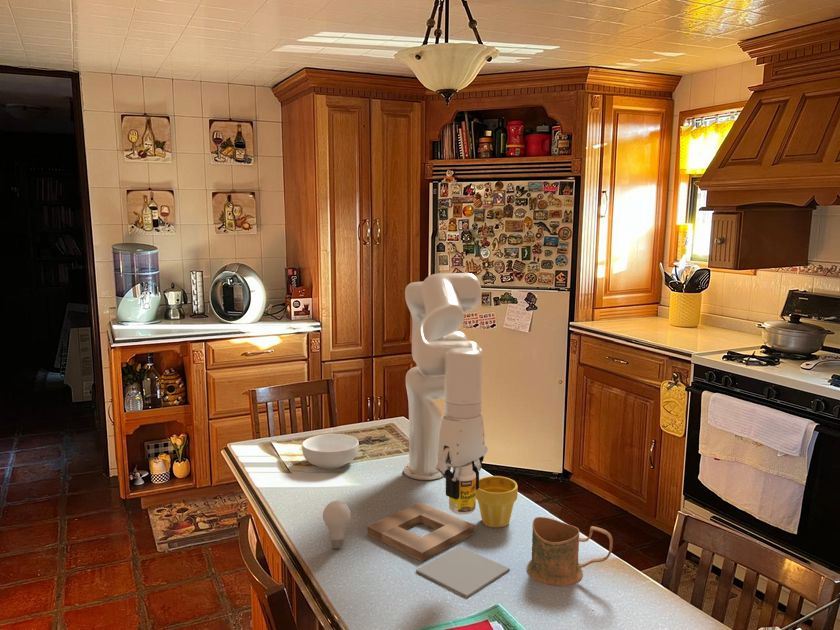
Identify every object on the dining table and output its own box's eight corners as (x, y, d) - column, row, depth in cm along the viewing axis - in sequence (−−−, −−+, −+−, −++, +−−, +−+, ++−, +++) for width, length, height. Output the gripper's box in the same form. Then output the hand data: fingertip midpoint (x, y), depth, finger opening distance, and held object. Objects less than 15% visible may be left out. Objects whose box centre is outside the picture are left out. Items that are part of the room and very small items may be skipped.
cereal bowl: (370, 461, 205) (369, 439, 204) (335, 479, 192) (334, 455, 190) (327, 450, 214) (326, 429, 213) (290, 467, 201) (290, 444, 199)
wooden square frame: (420, 509, 172) (420, 502, 172) (474, 532, 160) (474, 524, 159) (367, 534, 159) (367, 526, 159) (422, 561, 147) (422, 552, 147)
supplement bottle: (459, 518, 137) (459, 470, 136) (443, 508, 142) (443, 461, 140) (481, 511, 140) (481, 464, 139) (465, 501, 145) (465, 456, 143)
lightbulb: (356, 544, 154) (355, 499, 153) (342, 557, 149) (340, 510, 147) (333, 539, 157) (332, 494, 155) (318, 551, 151) (317, 505, 150)
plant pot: (488, 535, 159) (488, 495, 157) (466, 517, 168) (467, 479, 166) (525, 526, 163) (526, 487, 161) (502, 509, 172) (502, 472, 171)
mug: (601, 601, 132) (603, 544, 130) (518, 576, 141) (519, 522, 139) (618, 574, 141) (620, 520, 140) (539, 552, 151) (540, 501, 149)
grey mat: (459, 547, 153) (459, 545, 153) (509, 570, 143) (509, 568, 143) (416, 571, 143) (416, 569, 143) (467, 597, 133) (467, 595, 133)
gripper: (475, 396, 146) (474, 475, 149) (420, 414, 134) (420, 500, 137) (503, 403, 141) (501, 485, 144) (448, 422, 129) (448, 511, 132)
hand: (462, 491), depth 141 cm, fingers closed on supplement bottle, 5 cm apart
